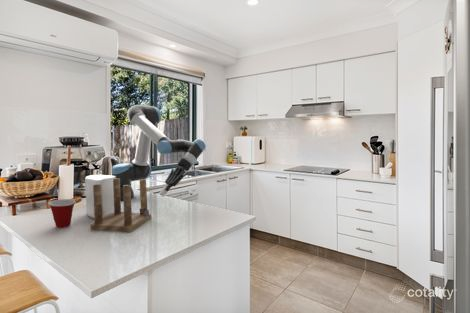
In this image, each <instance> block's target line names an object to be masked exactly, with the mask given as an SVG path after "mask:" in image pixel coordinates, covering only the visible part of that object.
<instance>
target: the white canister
mask: <svg viewBox="0 0 470 313" xmlns="http://www.w3.org/2000/svg"><path fill="white" fill-rule="evenodd" d="M113 179H116V176H112V174H111V175H109V174H107V175H106V174H92V175H91V174H90V175H86V176H85V177H84V183H85V184H84V189H85V190H84V191H85V206H86V207H85V208H86V216H88V217H90V218H92V219H94V220H95V216H94V194H93V184H101V199H102V218H105V217H107V216H109V215H111V214H113V213H114V191H113Z"/></svg>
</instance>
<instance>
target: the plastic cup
mask: <svg viewBox="0 0 470 313" xmlns="http://www.w3.org/2000/svg"><path fill="white" fill-rule="evenodd" d="M75 204H76V200H75V199H69V198H68V199H66V198H65V199H56V200H52V201H49V202H48V205H49V207H50V210H51V214H52V217H53V221H54V224H55V228H58V229H62V228H67V227H70V226H71V222H72V217H73V212H74V206H75Z"/></svg>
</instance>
